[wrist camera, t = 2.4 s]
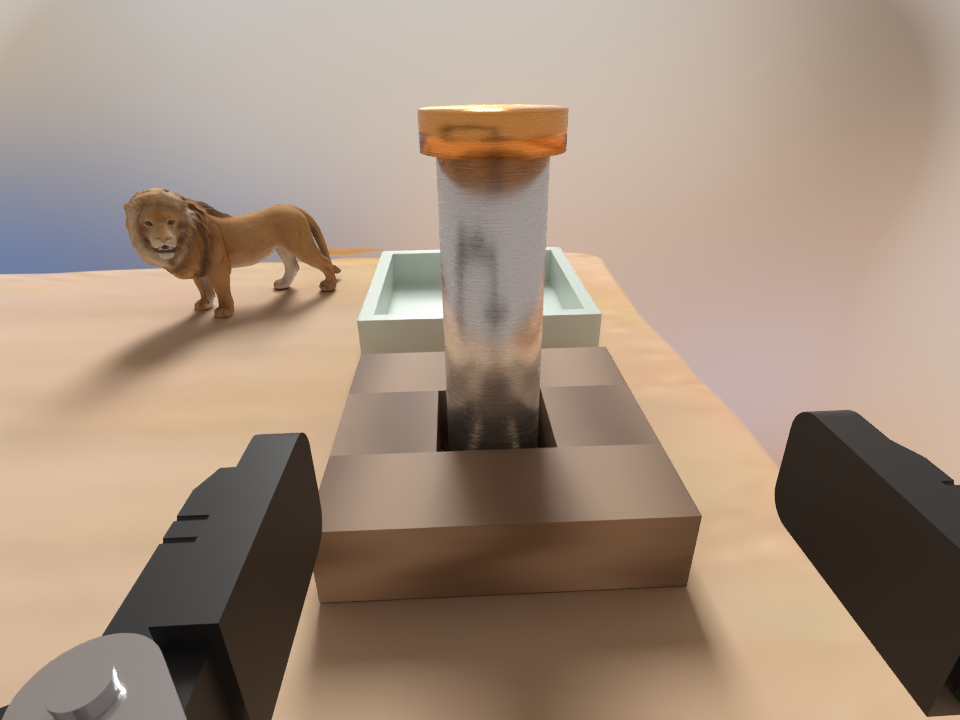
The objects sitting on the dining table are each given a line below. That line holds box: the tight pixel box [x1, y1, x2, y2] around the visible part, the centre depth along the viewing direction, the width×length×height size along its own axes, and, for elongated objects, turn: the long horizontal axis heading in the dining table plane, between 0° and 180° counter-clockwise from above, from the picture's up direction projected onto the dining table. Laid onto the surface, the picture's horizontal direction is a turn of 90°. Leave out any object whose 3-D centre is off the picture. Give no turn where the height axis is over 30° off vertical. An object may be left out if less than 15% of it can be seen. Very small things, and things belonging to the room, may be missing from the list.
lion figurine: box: [124, 188, 341, 318], centre depth 41 cm, size 15×5×9 cm, turn 138°
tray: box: [357, 247, 601, 354], centre depth 38 cm, size 14×14×3 cm
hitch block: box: [313, 347, 702, 603], centre depth 23 cm, size 12×12×3 cm
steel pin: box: [418, 104, 568, 451], centre depth 21 cm, size 5×5×14 cm
